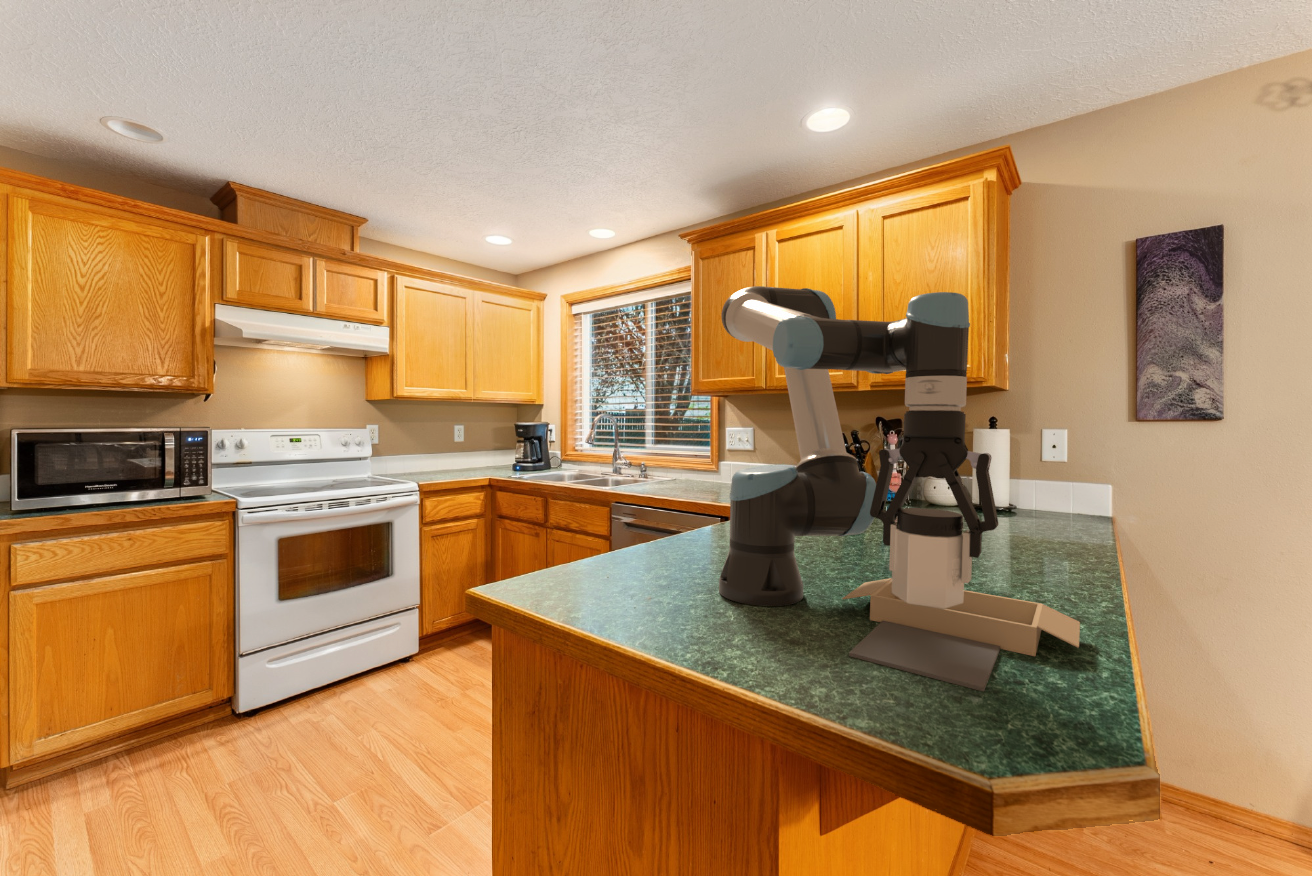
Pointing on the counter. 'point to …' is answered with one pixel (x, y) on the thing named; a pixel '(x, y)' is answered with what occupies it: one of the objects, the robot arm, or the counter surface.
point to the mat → (929, 654)
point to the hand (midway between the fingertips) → (929, 574)
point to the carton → (974, 618)
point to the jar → (928, 558)
